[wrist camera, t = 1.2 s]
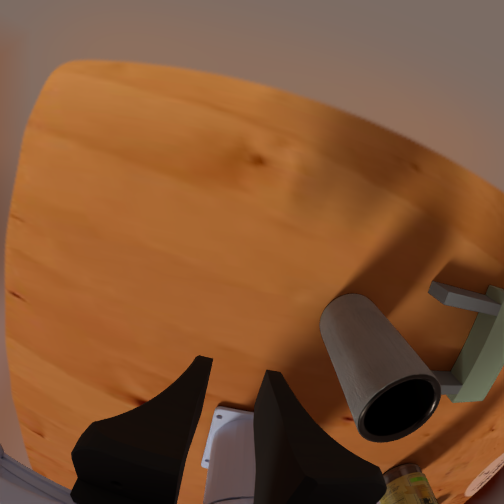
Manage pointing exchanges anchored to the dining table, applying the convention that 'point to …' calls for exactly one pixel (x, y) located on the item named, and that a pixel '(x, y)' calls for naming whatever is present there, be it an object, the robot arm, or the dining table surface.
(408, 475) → the sauce bottle
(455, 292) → the mount
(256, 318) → the dining table surface
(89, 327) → the dining table surface
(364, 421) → the grey hollow tube
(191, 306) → the dining table surface
